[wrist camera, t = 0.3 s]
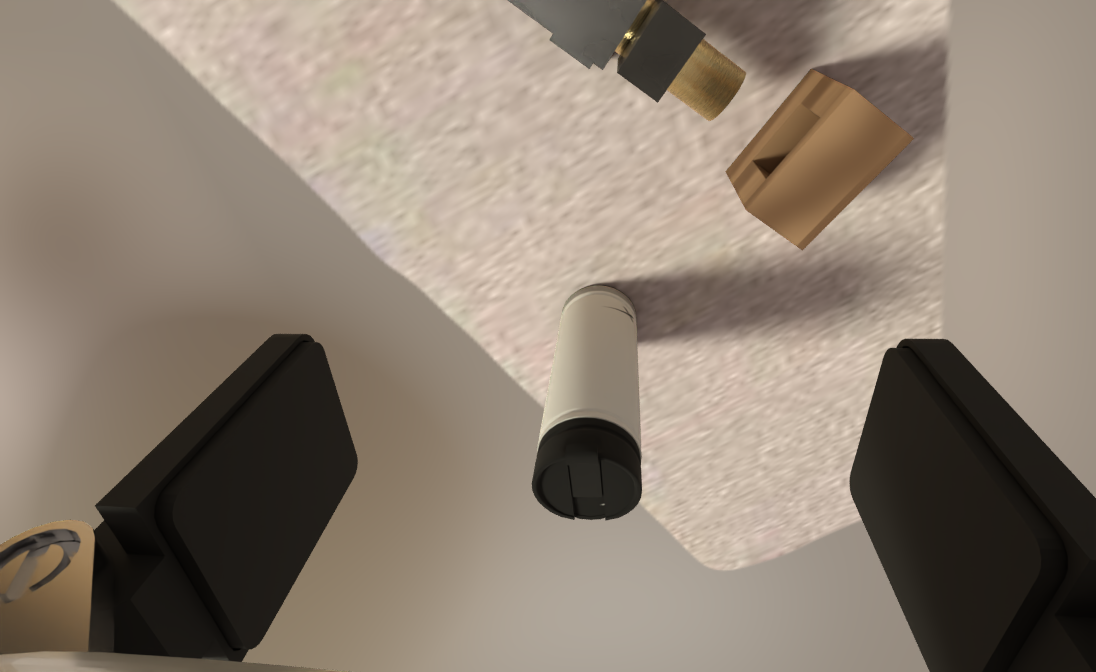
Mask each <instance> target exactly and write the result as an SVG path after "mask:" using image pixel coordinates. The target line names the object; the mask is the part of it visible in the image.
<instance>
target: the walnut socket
mask: <svg viewBox="0 0 1096 672" xmlns="http://www.w3.org/2000/svg"><path fill="white" fill-rule="evenodd" d="M913 139H914V138H913V137H912V136H911V135H909V134H908V133H907V132H906V131H904V130H903V129H902V128H901V127H899V126H898V125H897V124H896V123H895V122H893V121H892V120H891V119H890V118H888V117H887V116H886V115H885V114H884V113H882V112H881V111H880V110H879V109H877V108H876V107H875V106H874V105H872V104H871V103H870V102H869V101H868V100H866V99H865V98H864V97H863V96H861V95H860V94H859V93H858V92H856V91H855V90H854V89H852V88H850V87H848V86H846V85H844V84H842V83H840V82H838V81H836V80H833V79H831V78H829V77H827V76H825V75H823V74H821V73H819V72H817V71H815V70H813V69H811V70H810V71H809V72H808V73H807V74H806V76H805V77H804V78H803V79H802V80H801V82H800V83H799V84H798V85H797V87H796V88H795V89H794V90H793V91H792V93H791V94H790V95H789V96H788V97H787V99H786V100H785V101H784V102H783V103H782V105H781V106H780V107H779V108H778V109H777V111H776V112H775V113H774V114H773V115H772V117H771V118H770V119H769V120H768V121H767V123H766V124H765V125H764V126H763V127H762V129H761V130H760V131H759V132H758V133H757V135H756V136H755V137H754V138H753V139H752V141H751V142H750V143H749V144H748V145H747V147H746V148H745V149H744V150H743V151H742V153H741V154H740V155H739V156H738V157H737V159H736V160H735V161H734V162H733V163H732V165H731V166H730V167H729V168H728V169H727V171H726V173H727V175H728V177H729V179H730V181H731V183H732V185H733V187H734V188H735V190H736V192H737V194H738V196H739V198H740V200H741V202H742V203H743V205H744V207H745V209H746V210H747V211H748V212H749V213H751V214H752V215H754V216H755V217H756V218H758V219H759V220H761V221H762V222H763V223H765V224H766V225H768V226H769V227H770V228H772V229H773V230H775V231H776V232H777V233H779V234H780V235H782V236H783V237H784V238H786V239H787V240H789V241H790V242H791V243H793V244H794V245H796V246H797V247H798V248H800V249H801V250H803V249H804V248H805V247H806V246H807V245H808V244H809V243H810V242H811V241H812V240H813V239H814V238H815V237H816V236H817V235H818V234H819V233H820V232H821V231H822V230H823V229H824V228H825V227H826V226H827V225H828V224H829V223H830V222H831V221H832V220H833V219H834V218H835V217H836V216H837V215H838V214H839V213H840V212H841V211H842V210H843V209H844V208H845V207H846V206H847V205H848V204H849V203H850V202H851V201H852V200H853V199H854V198H855V197H856V196H857V195H858V194H859V193H860V192H861V191H862V190H863V189H864V188H865V187H866V186H867V185H868V184H869V183H870V182H871V181H872V180H873V179H874V178H875V177H876V176H877V175H878V174H879V173H880V172H881V171H882V170H883V169H884V168H885V167H886V166H887V165H888V164H889V163H890V162H891V161H892V160H893V159H894V158H895V157H896V156H897V155H898V154H899V153H900V152H901V151H902V150H903V149H904V148H905V147H906V146H907V145H908V144H909V143H910V142H911V141H912V140H913Z"/></svg>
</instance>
